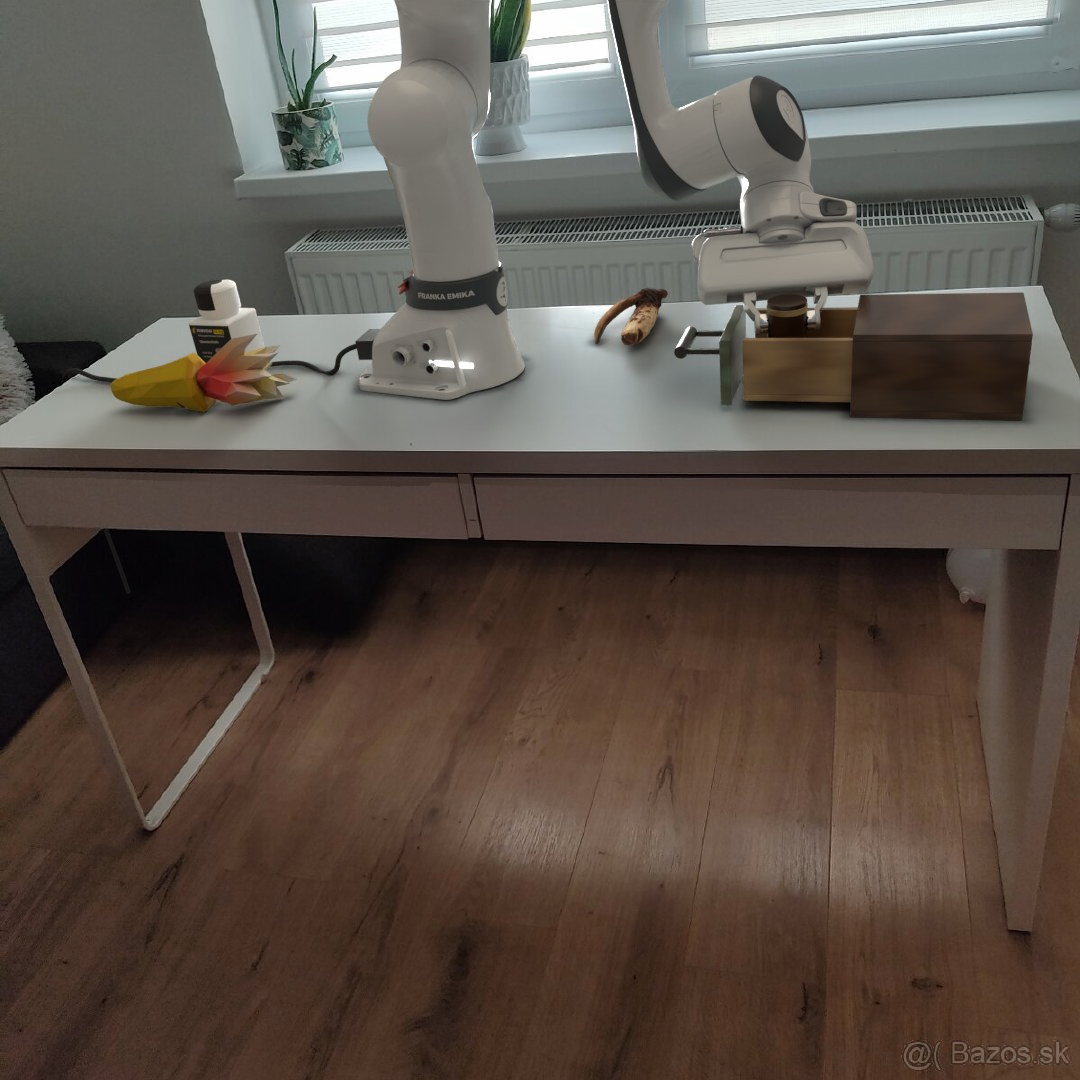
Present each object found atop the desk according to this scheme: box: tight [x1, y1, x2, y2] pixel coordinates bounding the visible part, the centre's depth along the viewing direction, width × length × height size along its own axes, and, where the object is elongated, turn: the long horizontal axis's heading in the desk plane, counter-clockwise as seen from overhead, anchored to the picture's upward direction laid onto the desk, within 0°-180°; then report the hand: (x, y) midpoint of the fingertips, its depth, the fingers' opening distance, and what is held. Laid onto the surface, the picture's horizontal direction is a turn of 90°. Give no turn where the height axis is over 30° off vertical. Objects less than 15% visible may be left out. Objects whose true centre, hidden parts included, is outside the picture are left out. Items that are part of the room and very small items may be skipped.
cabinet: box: [849, 291, 1034, 421], centre depth 119 cm, size 18×14×10 cm
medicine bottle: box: [188, 278, 266, 363], centre depth 156 cm, size 7×7×12 cm
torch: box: [110, 334, 298, 413], centre depth 142 cm, size 8×8×25 cm
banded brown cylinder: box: [766, 294, 809, 338], centre depth 124 cm, size 5×5×8 cm
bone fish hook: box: [593, 287, 669, 346], centre depth 150 cm, size 9×5×18 cm
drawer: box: [673, 304, 858, 406], centre depth 124 cm, size 22×12×8 cm, turn 73°
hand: (787, 329), depth 123 cm, fingers closed on banded brown cylinder, 4 cm apart
